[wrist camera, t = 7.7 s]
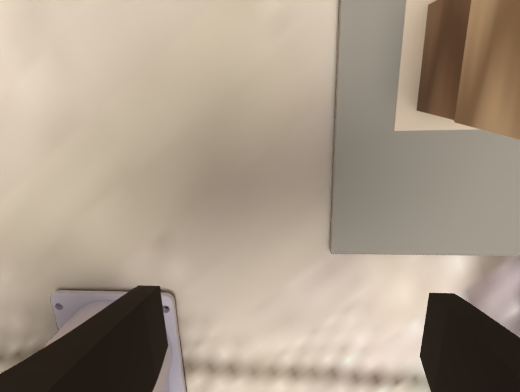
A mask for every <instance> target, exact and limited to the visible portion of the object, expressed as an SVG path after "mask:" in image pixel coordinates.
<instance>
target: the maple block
mask: <svg viewBox="0 0 520 392" xmlns="http://www.w3.org/2000/svg"><path fill="white" fill-rule="evenodd" d="M454 122H455V123H459V124H462V125H466V126H470V127H474V128H477V129H481V130H485V131H489V132H492V133H496V134H500V135H503V136H507V137H511V138H515V139H518V140H520V0H471V6H470V13H469V20H468V27H467V35H466V42H465V49H464V56H463V63H462V70H461V77H460V84H459V91H458V98H457V105H456V112H455V119H454Z"/></svg>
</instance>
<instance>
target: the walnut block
mask: <svg viewBox="0 0 520 392" xmlns="http://www.w3.org/2000/svg"><path fill="white" fill-rule="evenodd" d="M470 6H471V0H436V1H435V2H433V3H431V4H429V5H428V12H427V21H426V30H425V39H424V48H423V57H422V66H421V75H420V84H419V93H418V102H417V111H420V112H424V113H428V114H432V115H436V116H440V117H444V118H448V119H452V120H454V119H455V112H456V105H457V98H458V91H459V84H460V77H461V70H462V63H463V56H464V49H465V42H466V35H467V27H468V20H469V13H470Z"/></svg>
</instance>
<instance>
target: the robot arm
mask: <svg viewBox="0 0 520 392" xmlns="http://www.w3.org/2000/svg"><path fill="white" fill-rule="evenodd" d="M50 300H51V303H52V307H53V311H54V315H55V319H56V323H57V326H58V330H59V331H58V332H57V333H56V334H55V335H54V336H53V337H52V339H51V340H50V341H49V342H48V343H47V344H46V345H45V346H44V347H43V348H42V349H41V350H40V351H38V352H37V353H35V354H33V355H32V356H30V357H29V358H27V359H25V360H24V361H22V362H20V363H18V364H17V365H15V366H13V367H11V368H10V369H8V370H6V371H4V372H3V373H1V374H0V392H186V386H185V379H184V371H183V363H182V355H181V347H180V339H179V331H178V324H177V316H176V308H175V300H174V297H173V296H172V295H171V294H170V293H166V292H160V286H137V287H136V288H134V289H132V290H131V291H129V292H123V291H76V290H57V291H55V292H54V293H53V294H52V295H51V297H50ZM60 304H61V305H62V306H61V305H60ZM164 306H168V307H169V309H166V308H165V307H164ZM420 358H421V361H422V365H423V368H424V371H425V374H426V378H427V381H428V384H429V387H430V390H431V392H520V338H519V337H518V336H516V335H515V334H513V333H512V332H511V331H509V330H508V329H506V328H505V327H503V326H502V325H500V324H499V323H498V322H496V321H495V320H493V319H492V318H490V317H489V316H487V315H486V314H485V313H483V312H482V311H480V310H479V309H477V308H476V307H474V306H473V305H471V304H470V303H468V302H467V301H465V300H464V299H462V298H461V297H459V296H457V295H456V294H452V293H429V299H428V306H427V312H426V319H425V326H424V332H423V339H422V346H421V352H420Z"/></svg>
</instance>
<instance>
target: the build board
mask: <svg viewBox="0 0 520 392" xmlns="http://www.w3.org/2000/svg"><path fill="white" fill-rule="evenodd" d="M435 1H436V0H339V20H338V46H337V72H336V99H335V125H334V151H333V178H332V204H331V230H330V252H331V254H394V255H484V256H520V140H518V139H515V138H511V137H507V136H503V135H500V134H496V133H492V132H489V131H485V130H481V129H477V128H474V127H470V126H466V125H462V124H459V123H455V122H454V120H452V119H448V118H444V117H440V116H436V115H432V114H428V113H424V112H420V111H417V102H418V93H419V84H420V75H421V66H422V57H423V48H424V39H425V30H426V21H427V12H428V5H429V4H431V3H433V2H435Z"/></svg>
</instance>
